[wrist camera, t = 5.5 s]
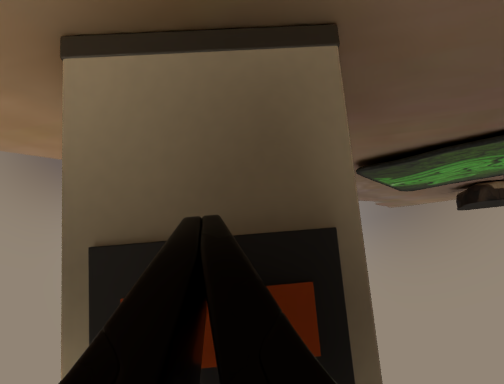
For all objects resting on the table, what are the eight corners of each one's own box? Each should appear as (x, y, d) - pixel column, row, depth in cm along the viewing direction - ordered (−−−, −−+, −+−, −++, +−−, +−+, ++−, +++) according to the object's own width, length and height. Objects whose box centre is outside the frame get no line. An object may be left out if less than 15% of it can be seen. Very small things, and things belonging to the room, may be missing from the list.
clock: (53, 28, 11) (48, 568, 8) (340, 16, 11) (408, 520, 9) (114, 102, 16) (120, 445, 14) (306, 91, 17) (344, 419, 14)
